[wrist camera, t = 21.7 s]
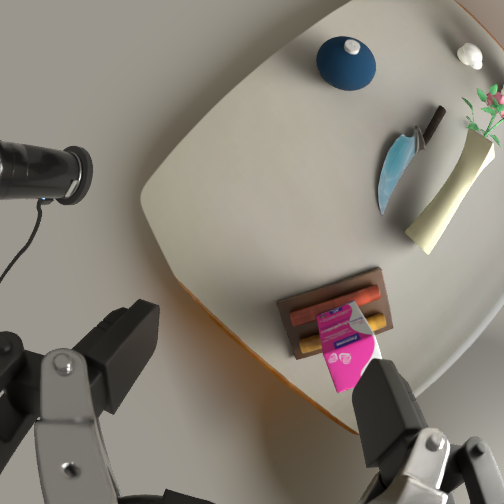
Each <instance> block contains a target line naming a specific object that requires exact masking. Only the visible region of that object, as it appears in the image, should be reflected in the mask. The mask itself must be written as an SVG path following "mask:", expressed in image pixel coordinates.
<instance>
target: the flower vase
mask: <svg viewBox="0 0 504 504" xmlns="http://www.w3.org/2000/svg"><path fill="white" fill-rule="evenodd" d="M497 89H498V87H497V84H495V85H492V86H491V87H490V89H489V93H488V94H487V96H488V97H486V95H485V94H484V93H483V92H482V91H481V90H479V89H478V88H477V94H478V96H479V97H480V99H481V101H484V102H486V101H487V102H488V104H487V103H486V104H487V106H488V105H489V106H490V108H482V110H483V111H485V112H488V113H490V114H491V115H493V117H492V119H491V122H490V124H489V126H488V128H487V130H486V132H484V131H483V130H482V129H481V130H482V133H483V135H484V136H482V135H480V134H479V133H477V132H475V130H477V131H479V130H480V129H479V128H478V126H477V125H476V124H475V123H474V118H473V123H472V121H471V120H470V118H469V117H468V116H466V117H467V118H468V119H469V120H470V122H471V124H469V125H468V126H467V127H466V128H469V130H468V134H467V138H466V142H465V146H464V149H463V151H462V154H461V156H460V158H459V160H458V162H457V164H456V166H455V168H454V170H453V171H452V173H451V175H450V176H449V178H448V179H447V181H446V182H445V184H444V185H443V187H442V188H441V189H440V191H439V192H438V193H437V195H436V196H435V197H434V199H433V200H432V201H431V202H430V203H429V205H428V206H427V207H426V208H425V209H424V211H423V212H422V213H421V214H420V215H419V216H418V217H417V219H416V220H415V221H414V222H413V223H412V224H411V225H410V226H409V227H408V229H407V230H406V231H405V233H406V235H408V236H409V237H410V238H411V239H412V240H413V241H414V242H415V243H416V244H417V245H418V246H419V247H420V248H421V249H422V250H423V251H425V252H426V253H427V254H428V255H429V253H430V252H431V250H432V249H433V247H434V246H435V244H436V243H437V241H438V239H439V238H440V236H441V235H442V233H443V231H444V230H445V228H446V227H447V225H448V223H449V222H450V220H451V218H452V216H453V215H454V213H455V211H456V209H457V208H458V206H459V204H460V203H461V201H462V199H463V198H464V196H465V194H466V193H467V191H468V190H469V188H470V187H471V185H472V184H473V182H474V181H475V179H476V178H477V176H478V175H479V173H480V172H481V171H482V170H483V169H484V168H485V167H486V166H487V165H488V164H489V163H490V162H491V161H492V160H493V159H494V158H495V156H494V144H493V142H491V141H490V140H488V139H487V138H485V137H487V136H488V133H489V132H490V131H491V130H492V129H494V128H495V127H496V126H497V125H498V124H499V123H500V122H502V121H503V120H504V118H503V117H504V95H502V94H501V93H500V92H497ZM462 99H463V100H464V101H465V102H466V103H467V104H468V105H469V106H470V108H471V109H472V113H473V107H472V105H471V104H470V103H469V102H468V101H467V100H466V99H464V98H462ZM495 108H496V110H495ZM497 111H498V112H499V114H500V115H501V117H502V118H503V119H502V120H500V121H499V122H498V123H497V124H496V125H495V126H494V127H492V128H491V129H490V130H489V128H490V126H491V124H492V122H493V120H494V118H495V115H496V114H497V113H498V112H497ZM488 130H489V131H488ZM490 136H491V137H493V139H494V140H495V141H496V142H497V143H498V145H499V146H500V142H499V140H498V138H497V137H496V136H495V135H490ZM500 147H501V146H500Z"/></svg>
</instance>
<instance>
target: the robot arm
mask: <svg viewBox="0 0 504 504" xmlns="http://www.w3.org/2000/svg"><path fill="white" fill-rule="evenodd" d="M82 177H83V164H82V160H81V158H80V157H79V155H78V154H76V153H74V152H66V151H61V150H55V149H50V148H44V147H39V146H32V145H26V144H19V143H11V142H4V141H1V140H0V200H10V199H38V202H37V211H38V218H37V222H36V225H35V227H34V230H33V232H32V234H31V236H30V238H29V240H28V242H27V243H26V245H25V246H24V247H23V248H22V249H21V250H20V251H19V253H18V254H17V255H16V256H15V258H14V259H13V260H12V262H11V263H10V264H9V265H8V267H7V268H6V270H5V271H4V273H3V274H2V275H1V277H0V283H1V281H2V279H3V278H4V276H5V275H6V274H7V272H8V271H9V270H10V268H11V267H12V266H13V264H14V263H15V262H16V260H17V259H18V258H19V257H20V255H22V253H24V252H25V250H26V249H27V248H28V247H29V245H30V244H31V242H32V240H33V238H34V236H35V234H36V232H37V230H38V227H39V224H40V221H41V217H42V210H41V205H46V204H50V203H51V202H52V201H53V199H54V198H61V199H68V198H70V197H72V196H73V195H74V194H75V193H76V192H77V190H78V189H79V187H80V184H81V181H82ZM159 313H160V308H159V305H156V304H153V303H151V302H148V301H145V300H141V299H139V300H137V301H136V302H135V303H134V304H133V305H132V306H131V307H130V308H129V309H127V308H124V307H122V308H120V309H117V310H114V311H112V312H111V313H109V314H108V315H107V316H106V317H105V318H104V319H103V321H101V322H100V323H99V324H98V325H97V327H94V328H93V329H92V330H91V331H90V332H89V333H88V334H87V335H86V336H85V337H84V338H83V339H82V340H81V341H80V342H79V343H78V344H77V345H76V346H74V347H73V348H72V349H67V348H60V349H55V350H52V351H50V352H49V353H47V354H46V355H45V356H44V355H41V354H37V353H34V352H31V351H27V350H24V347H23V343H22V340H21V339H20V337H19V336H18V335H17V334H15V333H12V332H8V331H4V332H0V392H1V391H2V390H3V391H4V394H3V395H2V396H1V397H0V474H1V472H2V471H3V469H4V467H5V466H6V464H7V463H8V461H9V460H10V458H11V456H12V455H13V453H14V452H15V450H16V449H17V447H18V446H19V444H20V443H21V441H22V440H23V438H24V437H25V435H26V434H27V432H28V431H29V429H30V428H31V427H32V425H33V424H34V422H35V424H34V436H35V448H36V457H37V465H38V471H39V478H40V483H41V489H42V494H43V498H44V503H45V504H214V503H212V502H210V501H207V500H203V499H199V498H195V497H192V496H188V495H184V494H181V493H178V492H174V491H171V490H168V489H166V490H165V492H164V495H163V496H158V495H131V496H124V497H122V494H121V492H120V489H119V486H118V484H117V481H116V478H115V476H114V473H113V470H112V467H111V464H110V461H109V458H108V454H107V451H106V447H105V444H104V440H103V435H102V431H101V428H100V423H99V416H100V414H101V413H102V411H103V410H105V411H107V412H109V413H111V414H113V415H114V414H115V412H116V411H117V409H118V407H119V406H120V404H121V403H122V401H123V400H124V398H125V396H126V395H127V393H128V392H129V390H130V389H131V387H132V386H133V384H134V382H135V381H136V379H137V378H138V376H139V375H140V373H141V372H142V370H143V369H144V367H145V365H146V364H147V362H148V361H149V359H150V358H151V356H152V355H153V353H154V351H155V348H156V344H157V339H158V326H159ZM352 403H353V407H354V412H355V416H356V420H357V425H358V429H359V434H360V438H361V443H362V447H363V452H364V457H365V462H366V467H367V468H371V467H379V470H380V471H379V472H378V473H377V474H376V475H375V476H374V478H373V479H372V481H371V483H370V484H369V486H368V487H367V489H366V491H365V492H364V494H363V495H362V497H361V498H360V500H359V501H358V502H357V504H457V503H456V499H455V495H454V491H453V490H455V489H456V488H457V487H458V486H460V485H461V484H462V483H464V482H465V485H466V488H467V492H468V495H469V499H470V504H504V482H503V479H502V477H501V474H500V472H499V469H498V467H497V464H496V462H495V460H494V457H493V455H492V452H491V450H490V448H489V446H488V444H487V443H486V442H485V441H484V440H483V439H481V438H479V437H471V438H469V439H468V440H467V441H466V442H465V443H464V444H463V445H462V446H459V445H452V444H450V443H449V440H448V438H447V437H446V436H445V434H444V433H442V432H441V431H440V430H438V429H436V428H431V427H430V428H429V427H428V425H427V423H426V421H425V418H424V416H423V414H422V412H421V409H420V407H419V405H418V403H417V402H416V399H415V396H414V394H412V390H411V388H410V386H409V384H408V382H407V381H406V380H405V379H404V378H403V377H402V376H401V375H400V374H399V373H398V371H397V369H396V367H395V365H394V363H393V361H391V360H385V359H378V358H373V359H372V360H371V361H370V362H369V364H368V366H367V367H366V369H365V371H364V373H363V374H362V376H361V378H360V379H359V381H358V382H357V384H356V386H355V388H354V390H353V394H352ZM38 417H41V418H40V420H37V418H38Z"/></svg>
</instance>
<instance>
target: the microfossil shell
mask: <svg viewBox="0 0 504 504" xmlns="http://www.w3.org/2000/svg"><path fill="white" fill-rule="evenodd" d="M457 56H458V58H459V60H460V61H461V62H462V63H464V64H465V65H471V67H472V68H474V69H480V68H482V61H481V60H482V53H481V51H480V49H479V48H478V47H477V46H475V45H474V44H471V43H465V44H464V45H463V46H462V47H460V48H459V49H458V51H457Z"/></svg>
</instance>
